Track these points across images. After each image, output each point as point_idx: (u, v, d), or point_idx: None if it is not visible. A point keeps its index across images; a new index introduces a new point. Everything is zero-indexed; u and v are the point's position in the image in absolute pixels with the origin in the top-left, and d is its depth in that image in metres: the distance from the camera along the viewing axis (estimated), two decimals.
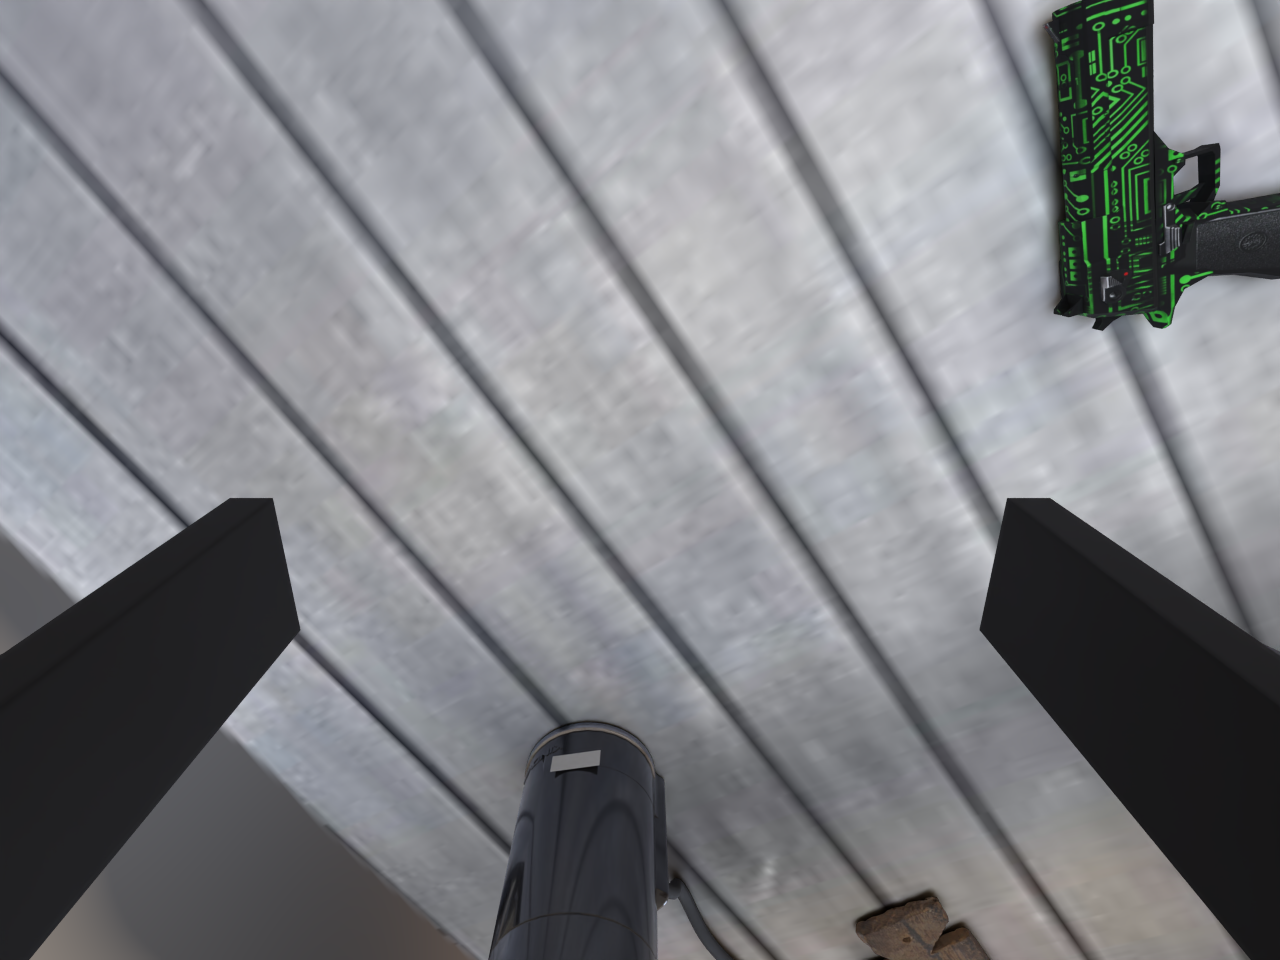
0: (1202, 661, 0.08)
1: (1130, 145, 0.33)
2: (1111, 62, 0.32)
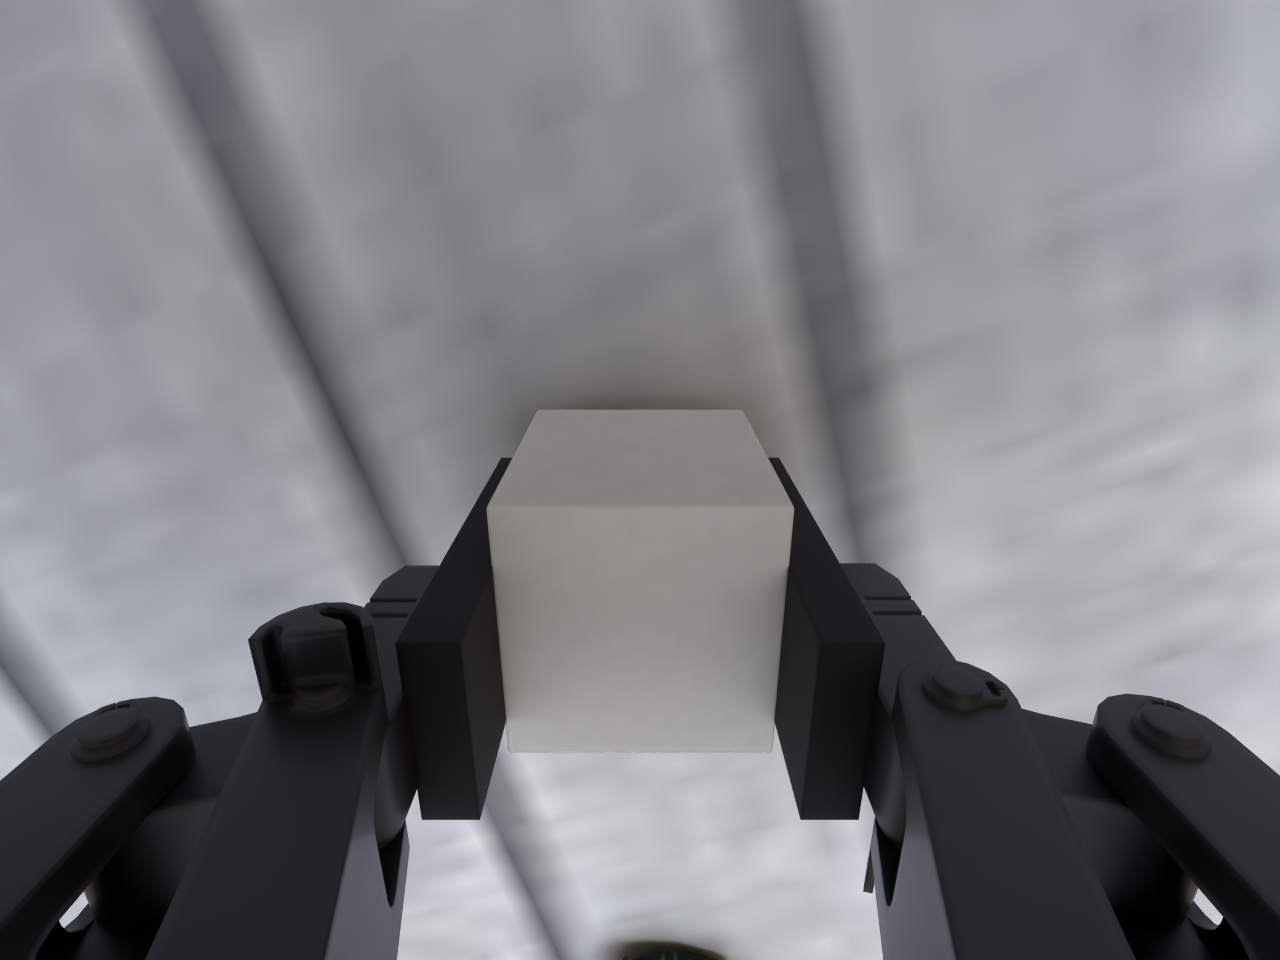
0: None
1: None
2: None
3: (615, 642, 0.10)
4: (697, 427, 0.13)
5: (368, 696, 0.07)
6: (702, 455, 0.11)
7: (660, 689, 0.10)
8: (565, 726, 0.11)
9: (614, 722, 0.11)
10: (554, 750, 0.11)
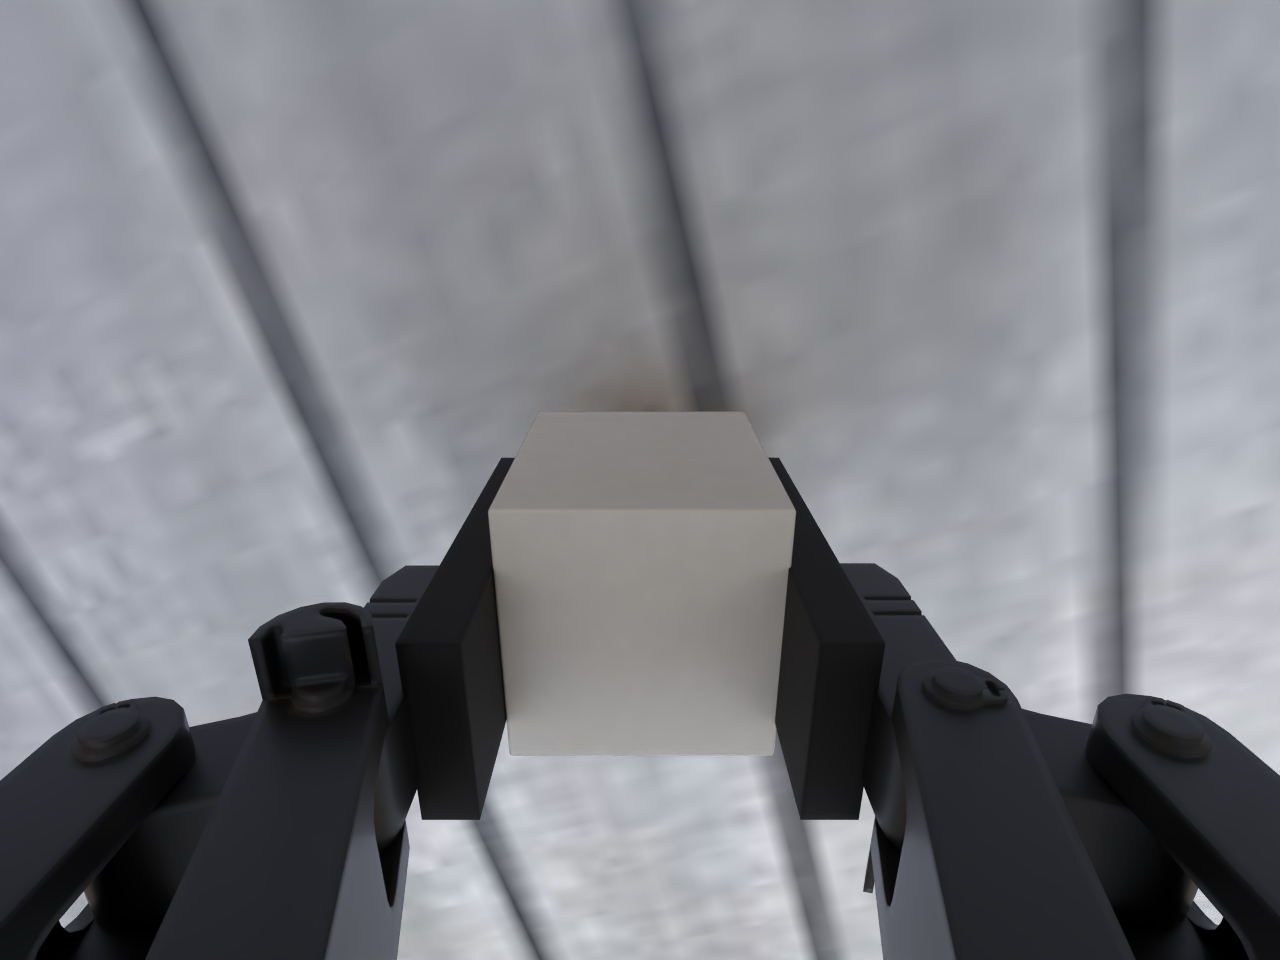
0: None
1: None
2: None
3: (616, 645, 0.10)
4: (698, 429, 0.13)
5: (368, 696, 0.07)
6: (702, 458, 0.11)
7: (661, 692, 0.10)
8: (566, 729, 0.11)
9: (616, 725, 0.11)
10: (555, 753, 0.11)
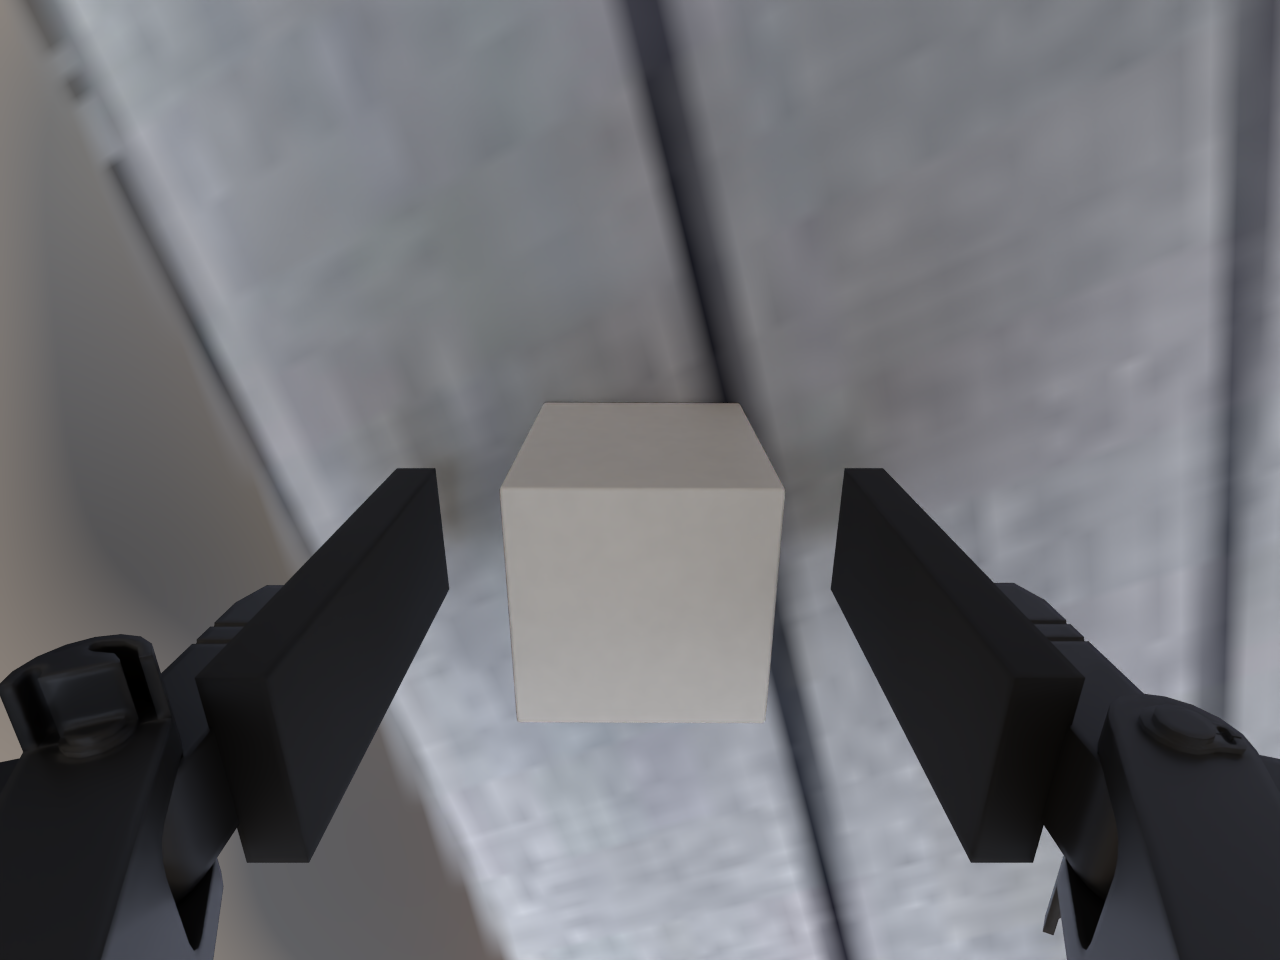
0: (937, 593, 0.09)
1: None
2: None
3: (618, 617, 0.11)
4: (696, 418, 0.13)
5: (153, 731, 0.07)
6: (700, 443, 0.12)
7: (660, 661, 0.11)
8: (570, 697, 0.11)
9: (616, 693, 0.11)
10: (559, 719, 0.12)
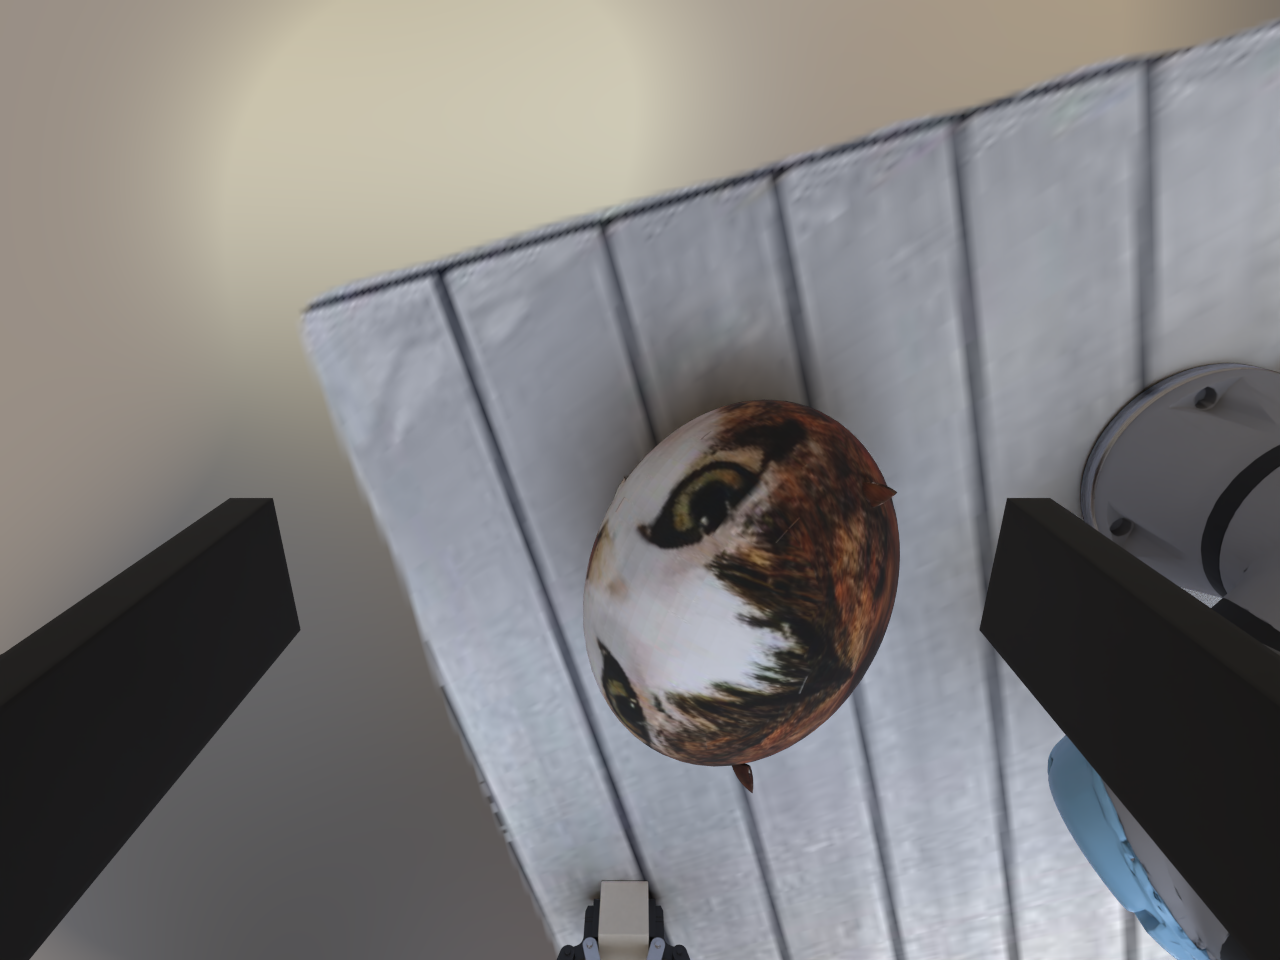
0: (1202, 661, 0.08)
1: None
2: None
3: (619, 952, 0.57)
4: (636, 893, 0.60)
5: None
6: (635, 911, 0.59)
7: (627, 959, 0.58)
8: None
9: None
10: None
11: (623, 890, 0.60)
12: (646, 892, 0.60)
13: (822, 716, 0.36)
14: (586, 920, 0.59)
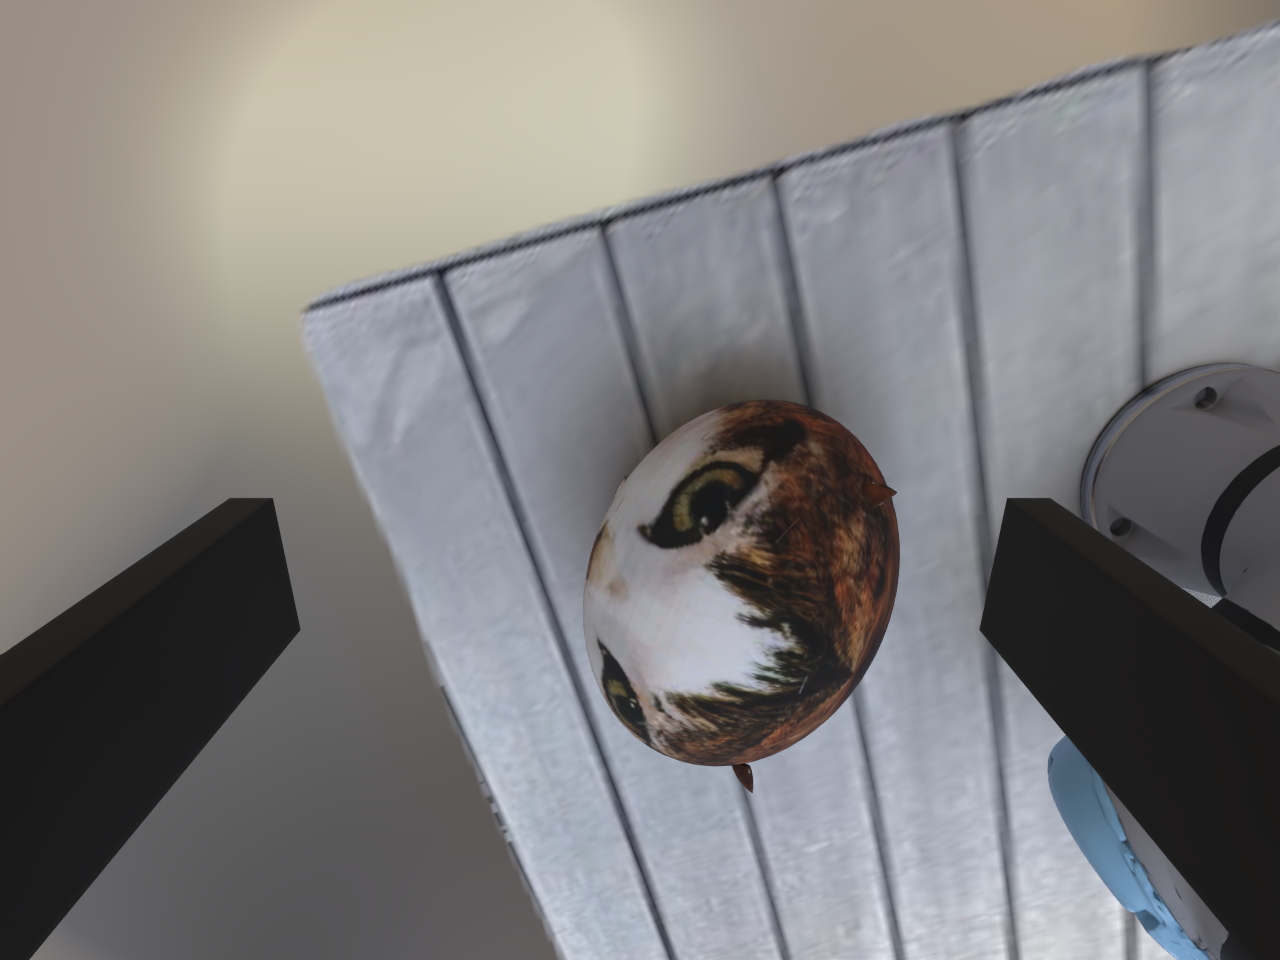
0: (1202, 661, 0.08)
1: None
2: None
3: None
4: None
5: None
6: None
7: None
8: None
9: None
10: None
11: None
12: None
13: (822, 716, 0.36)
14: None
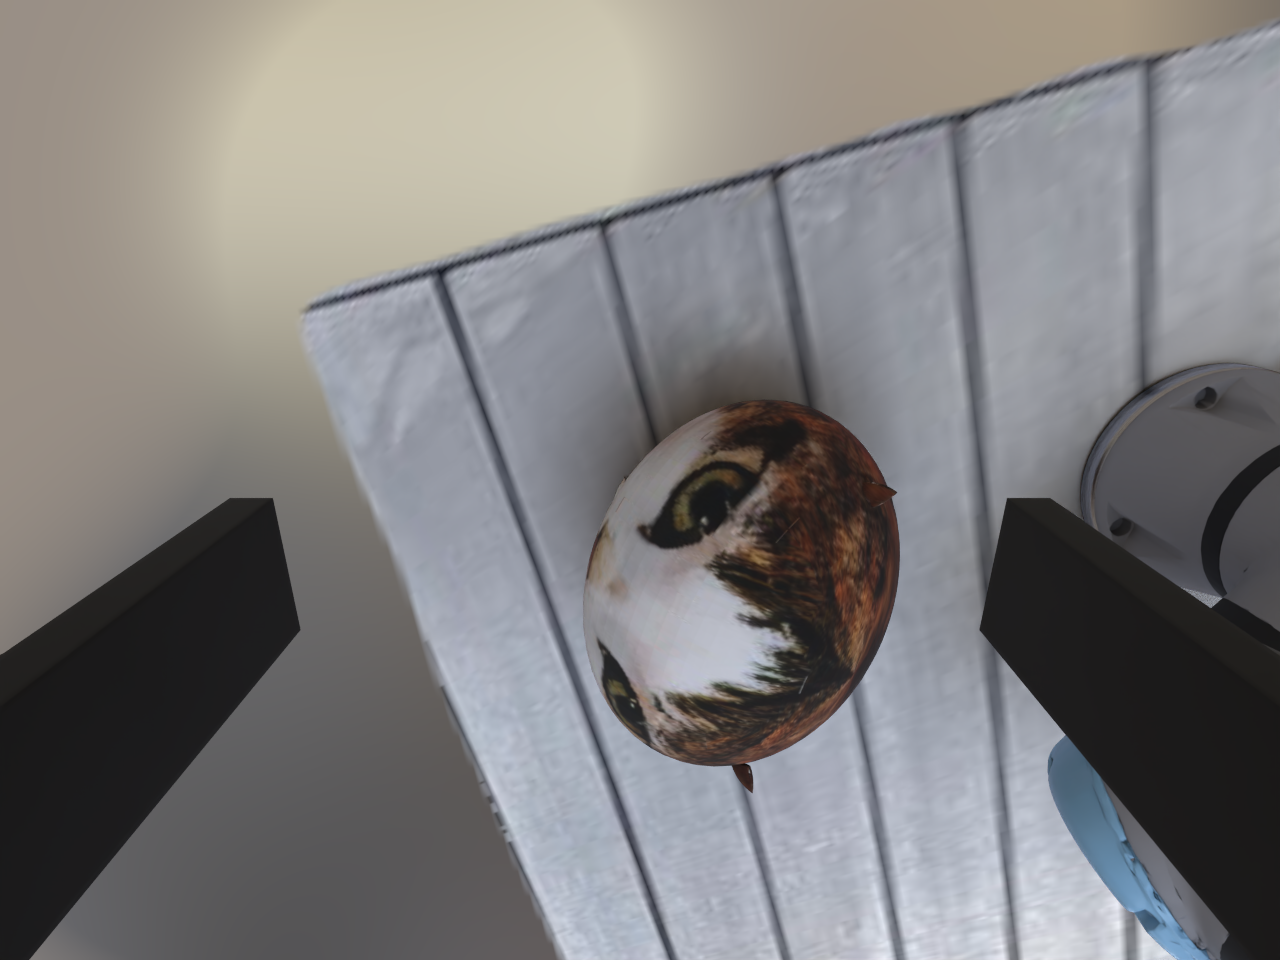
0: (1202, 661, 0.08)
1: None
2: None
3: None
4: None
5: None
6: None
7: None
8: None
9: None
10: None
11: None
12: None
13: (822, 716, 0.36)
14: None
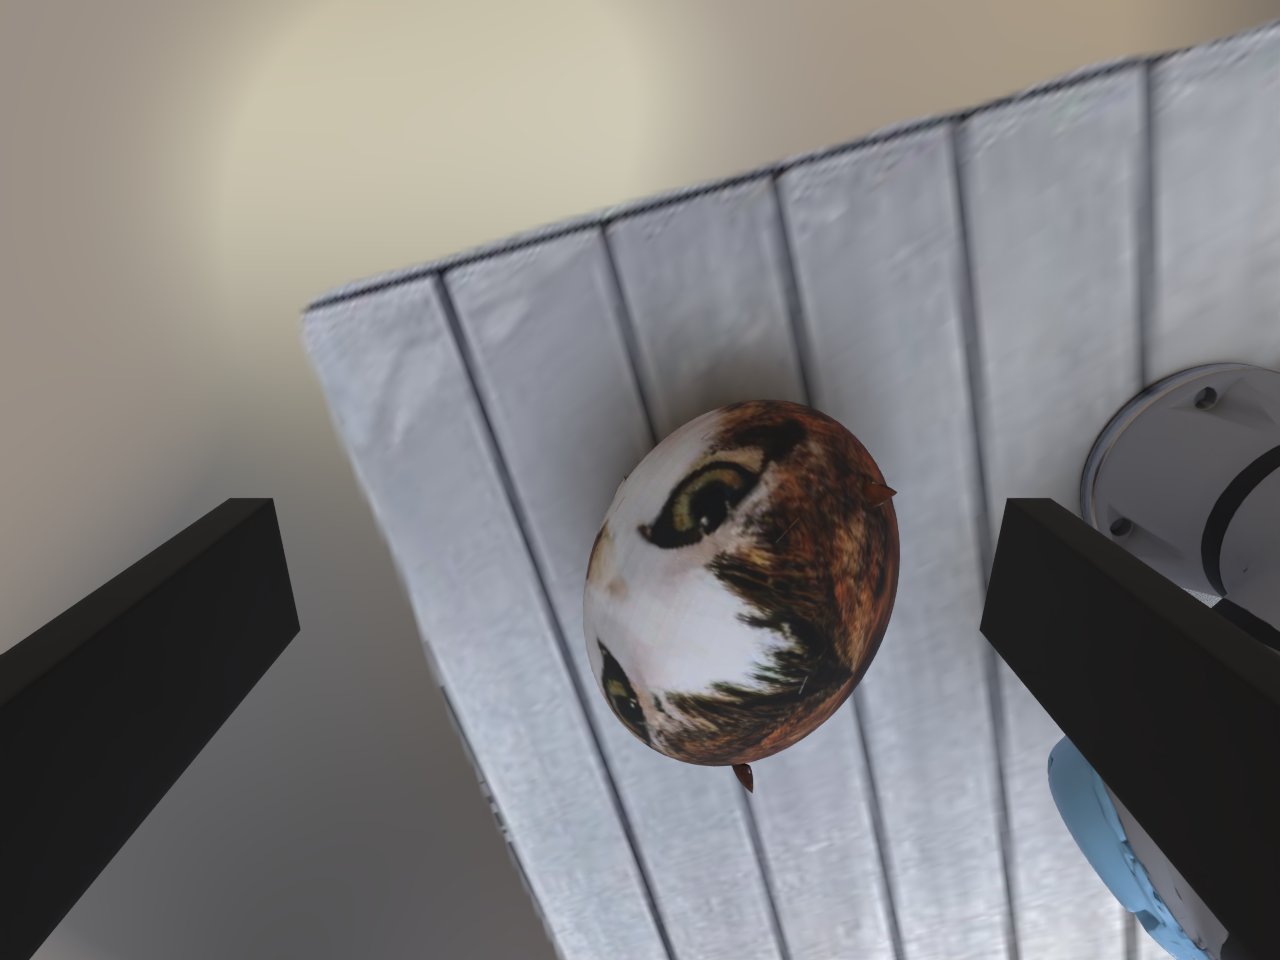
0: (1202, 661, 0.08)
1: None
2: None
3: None
4: None
5: None
6: None
7: None
8: None
9: None
10: None
11: None
12: None
13: (822, 716, 0.36)
14: None
